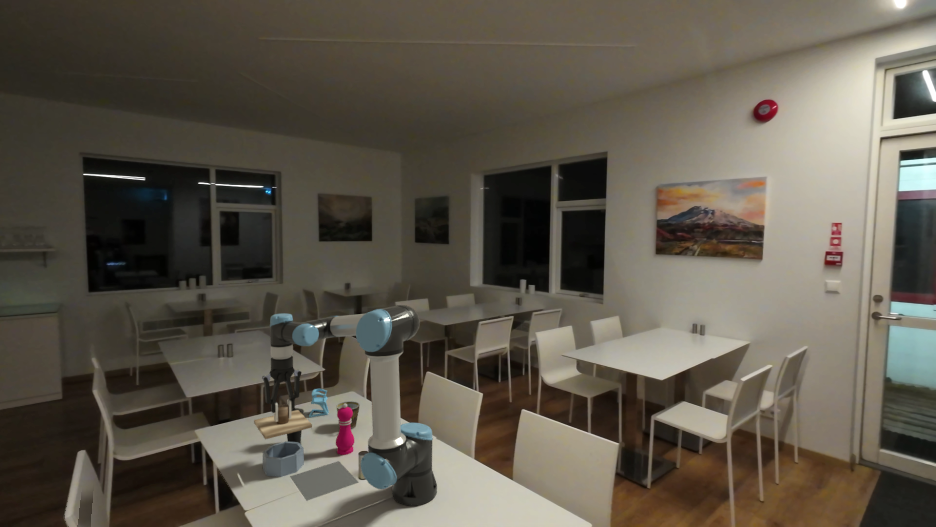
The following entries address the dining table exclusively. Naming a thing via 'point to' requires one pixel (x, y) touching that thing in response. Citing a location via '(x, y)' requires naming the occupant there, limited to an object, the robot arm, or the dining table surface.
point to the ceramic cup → (355, 409)
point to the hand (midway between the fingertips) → (282, 418)
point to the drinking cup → (296, 435)
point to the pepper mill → (345, 431)
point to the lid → (282, 423)
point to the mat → (323, 480)
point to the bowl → (283, 459)
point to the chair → (319, 402)
